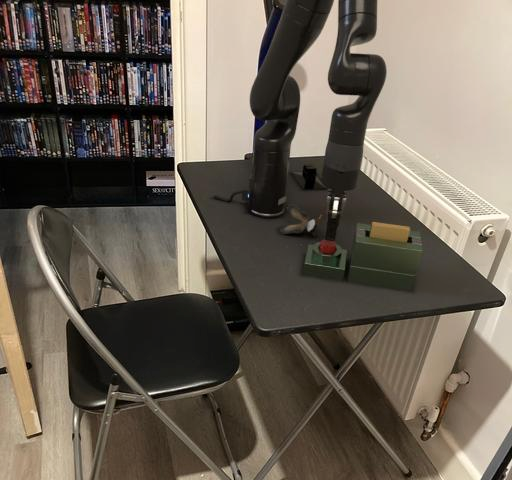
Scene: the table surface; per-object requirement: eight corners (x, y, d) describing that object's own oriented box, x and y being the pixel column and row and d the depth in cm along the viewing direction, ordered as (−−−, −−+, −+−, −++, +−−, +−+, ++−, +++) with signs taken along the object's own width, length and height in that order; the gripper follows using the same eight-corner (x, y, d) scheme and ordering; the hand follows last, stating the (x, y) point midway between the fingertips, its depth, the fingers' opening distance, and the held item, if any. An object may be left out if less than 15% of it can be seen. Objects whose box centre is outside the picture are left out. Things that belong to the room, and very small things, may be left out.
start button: (318, 252, 126) (319, 245, 125) (319, 245, 129) (321, 238, 128) (334, 255, 126) (336, 248, 125) (335, 247, 128) (336, 240, 127)
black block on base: (291, 173, 174) (292, 158, 171) (313, 173, 175) (315, 158, 172) (303, 190, 164) (305, 174, 161) (327, 189, 166) (329, 173, 163)
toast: (364, 259, 126) (372, 224, 121) (364, 256, 127) (372, 221, 122) (401, 265, 126) (410, 230, 120) (400, 261, 127) (409, 226, 122)
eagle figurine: (319, 222, 146) (285, 211, 146) (325, 208, 139) (290, 196, 139) (310, 248, 143) (276, 236, 143) (316, 234, 136) (280, 222, 136)
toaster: (347, 281, 126) (355, 241, 120) (349, 261, 133) (356, 222, 127) (411, 291, 125) (422, 251, 119) (409, 270, 132) (420, 231, 126)
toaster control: (302, 274, 127) (305, 255, 124) (306, 255, 134) (309, 236, 131) (342, 281, 126) (346, 261, 123) (344, 261, 133) (348, 242, 130)
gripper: (326, 149, 121) (315, 224, 131) (321, 171, 110) (310, 251, 121) (361, 153, 120) (348, 228, 130) (360, 176, 109) (345, 256, 120)
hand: (329, 239), depth 126 cm, fingers closed
